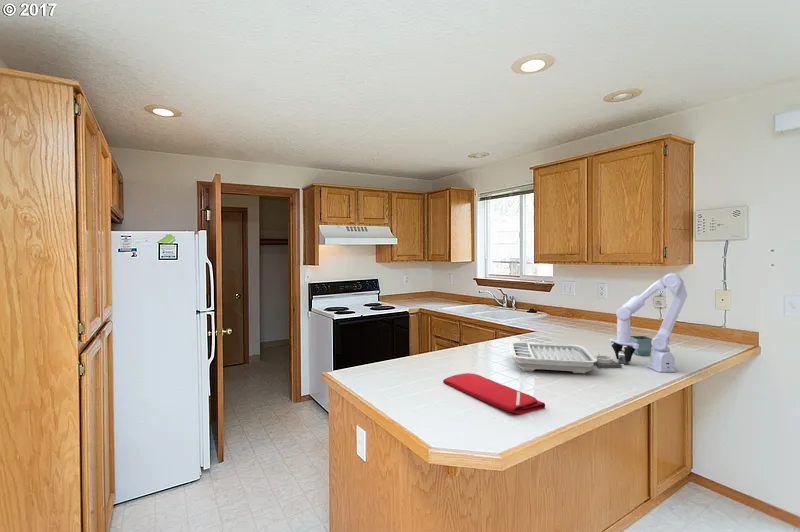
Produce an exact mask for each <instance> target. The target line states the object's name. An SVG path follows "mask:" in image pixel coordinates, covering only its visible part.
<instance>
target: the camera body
mask: <svg viewBox="0 0 800 532" xmlns="http://www.w3.org/2000/svg"><path fill="white" fill-rule="evenodd" d="M594 356H595V357H596V358H597V360H598V361H597V362H594V363H593V364H594V365H593V366H595V367H596V366H597V367H596V368H597V369H600V368H623V367H622V366H623V365H621V364H619V363H618V361H615V360H614V358H613V357H612V356H608V355H603V354H599V353H598V354H597V355H594Z"/></svg>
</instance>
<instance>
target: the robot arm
mask: <svg viewBox="0 0 800 532" xmlns="http://www.w3.org/2000/svg"><path fill="white" fill-rule="evenodd" d="M666 288H667V289H668V290H669V291H670V293H671V294H672V296H673V297H672V300H671V302H670V304H669V307H668V309H667V311H666V314H665V316H664V318H663V321H662V323H661V325H660V326H659V329H658V331H657V333H656V334H655V335H654V337H653V338H652V341H651V344H652V346H653V347H651V352H650V364H649V365H648V364H647V365H646V367H647V368H650V369H652V370H654V371H655V372H658V373H676V372H677V370H675V361H676V360H675V356H674V354H672V352H671V349H670V348H669V346H668V345H669V344H670V335H671V333H672V331H673V328H674V326H675V325H676V321H677V319H678V317H679V315H680V313H681V311H682V309H683V306H684V304H685V302H686V299H687V297H688V292H687V289H686V285H685V283H684V280H683V278H682V277H681V276H680V275H679V274H678V273H675V272H670V273H668V274H666V275H664V276H663V277H661V278H660V279H658V280H656V281H654V283H652V284H651V285H650V286H648V288H647V289H645V291H643V292H642V293H641V294H640V295H634V296H631V297H630V298H629V300H628V301H627V302H626V303H625V302H624V303H622V304H621V307H619V308H617V310H616V314H615V315H616V317H617V321H616V338H612V337H611V338H609V340H608V341H609V342H608V343H611V348H612V350H613V351H614V353H615V358H616V360H618V351H619V350H623V349H624V350H625V354H626V362H629V363H630V362H631V361H632V356H633V355H634V351H635V350H636V349H637V348H639V344H636V343H633V342H631V341H630V336H631V335H632V334H631V329H632V328H631V327H632V326H631V317H632V315H633V314H635V313H636V312H638V311H639V310H640V309H641V308H643V307H644V306H645V304H646V303H645V302H646V300H647V299H649V298H650V297H651V296H653V294H655V293H656V292H658V291H660V290H664V289H666Z"/></svg>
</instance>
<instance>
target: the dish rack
mask: <svg viewBox="0 0 800 532" xmlns="http://www.w3.org/2000/svg"><path fill="white" fill-rule="evenodd" d="M508 345H509V351H510V355H511V357H513V361H514V365H515V366H518V367H519V368H520V369H522V371H523V372H534V371H535V370H548V371H549V370H551V371H563V372H564V371H567V372H572V373H573V374H575V373H585V374H586V373H588V372H590V371H593V370H594V365H593V363H594V362H597V361H598V360H597V358H596V357H595V356H596V355H594V354H593V353H592V352H591V351H590V350H589V348H587V347H586V346H583V345H579V344H568V343H566V344H561V343H559V344H558V343H538V342H524V341H512V342H510V343H509V344H508Z"/></svg>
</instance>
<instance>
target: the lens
mask: <svg viewBox="0 0 800 532" xmlns="http://www.w3.org/2000/svg"><path fill="white" fill-rule="evenodd" d="M617 363H619V364H624V365H623V366H628V364H629V363H630V362H626V354H625V350H623V349H622V350H619V351H618V359H617Z"/></svg>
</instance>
